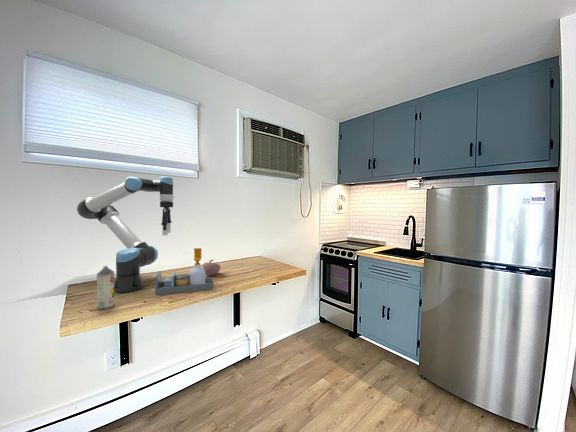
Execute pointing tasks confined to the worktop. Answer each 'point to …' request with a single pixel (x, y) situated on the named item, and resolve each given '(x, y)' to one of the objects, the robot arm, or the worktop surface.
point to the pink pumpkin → (211, 268)
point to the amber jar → (182, 280)
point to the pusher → (170, 281)
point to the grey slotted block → (178, 289)
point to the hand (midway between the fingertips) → (166, 234)
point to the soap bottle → (197, 270)
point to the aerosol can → (105, 288)
